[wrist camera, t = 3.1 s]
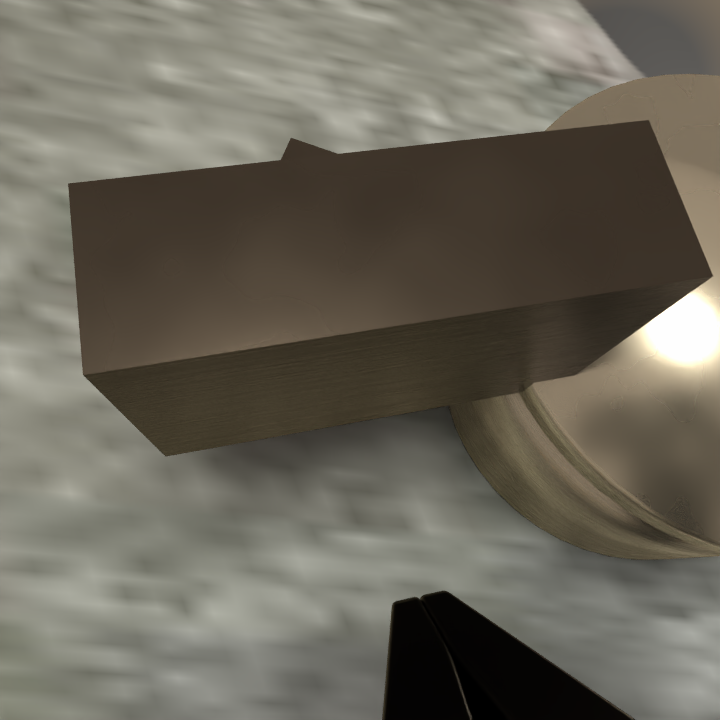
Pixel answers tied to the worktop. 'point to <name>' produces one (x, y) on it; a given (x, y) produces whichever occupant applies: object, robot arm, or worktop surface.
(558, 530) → the cooker pot
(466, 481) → the worktop surface
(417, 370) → the cooker lid
